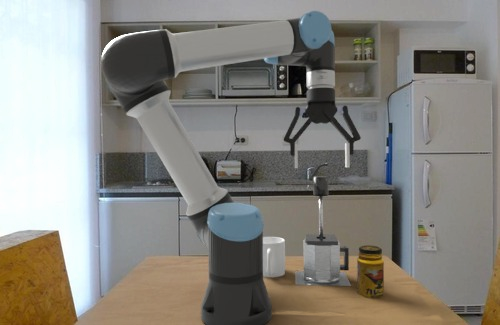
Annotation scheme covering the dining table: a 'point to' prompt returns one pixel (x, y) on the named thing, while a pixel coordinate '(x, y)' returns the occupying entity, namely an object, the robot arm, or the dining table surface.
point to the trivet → (301, 281)
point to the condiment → (370, 272)
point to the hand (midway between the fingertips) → (321, 167)
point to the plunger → (320, 197)
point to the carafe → (323, 259)
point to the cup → (273, 256)
